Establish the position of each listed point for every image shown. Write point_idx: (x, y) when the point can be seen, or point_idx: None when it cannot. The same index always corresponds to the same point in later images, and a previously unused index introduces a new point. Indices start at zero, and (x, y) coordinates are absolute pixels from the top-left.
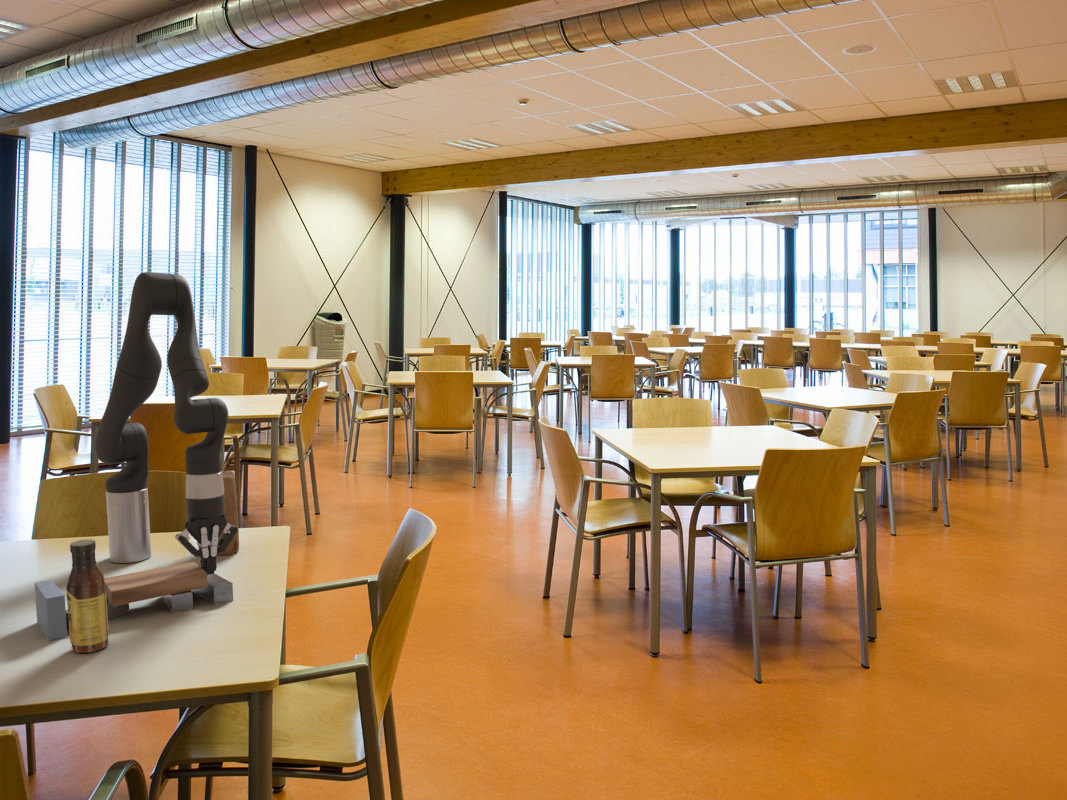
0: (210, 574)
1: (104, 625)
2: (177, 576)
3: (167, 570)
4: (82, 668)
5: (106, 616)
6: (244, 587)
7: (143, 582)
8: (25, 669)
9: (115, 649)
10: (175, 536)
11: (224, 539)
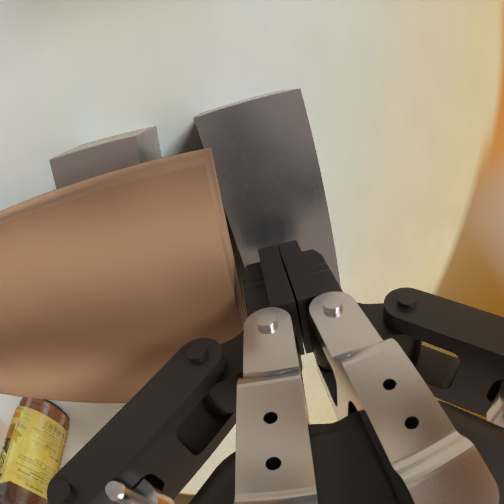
0: (294, 167)
1: (62, 455)
2: (134, 386)
3: (63, 287)
4: (71, 446)
5: (59, 463)
6: (396, 167)
7: (32, 379)
8: (9, 418)
9: (85, 427)
10: (50, 495)
11: (451, 391)
